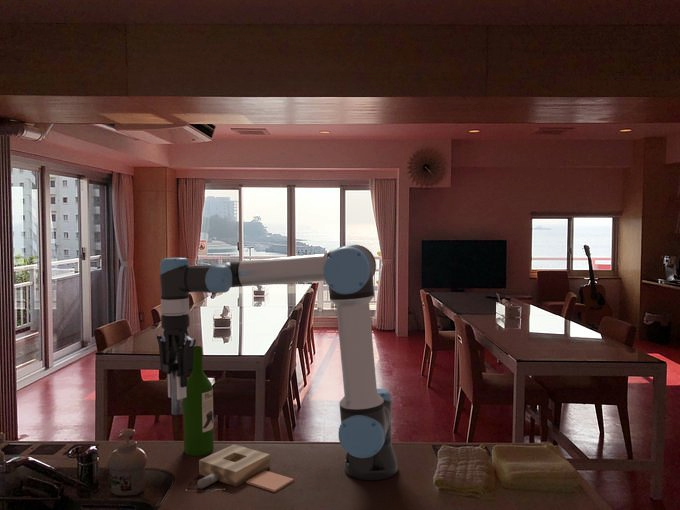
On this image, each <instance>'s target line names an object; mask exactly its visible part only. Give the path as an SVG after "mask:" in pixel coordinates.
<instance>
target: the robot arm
mask: <svg viewBox="0 0 680 510" xmlns="http://www.w3.org/2000/svg"><path fill="white" fill-rule="evenodd" d="M159 265H160V266H159V267H160V268H159V277H160V278H159V279H160V313H161V314H162V315H161V317H160V320H161V323H160V324H161V328H162V329H163V331H162V332H163V333H162V334H159V335H156V339H157V342H158V352H159V363H160V370H161V371H163V367H162V364H165V363H169V362H173V361H176V360H177V365H178V373H179V374H177V399H178V400H180V399H183V398H186V386H187V380H188V375H191V373H192V372H193V357H194V346H195V345H196V341H197V340H196V338H195V337H194V338H191V337H190V336H189V332H188V328H189V327H190V326H191V325H190V322H191V321H190V314H189V311H190V298H189V297H190V293H207V294H208V293H209V294H223V293H227V292H229V291H230V289H231V288H240V287H250V286H251V287H252V286H267V285H279V284H280V285H282V284H296V283H308V282H309V283H313V282H322V281H323V282H324V281H325V282H326V284H327V286H328V293H329V300H330V301H331V303H332V304H334V305H335V306H336V316H337V327H338V329H337V330H338V338H339V350H340V361H341V372H342V383H343V395H344V396H343V397H342V398H341V400H340V401H339V405H338V406H339V413H340V414H339V415H340V417H339V418H340V425H339V427H338V440H339V444H340V447H342V449H343V450H344V451H345V452H346V455H345V458H344V471H345V473H346V474H347V475H348V476H350V477H352V478H354V479H357V480H363V481H381V480H386V479H389V478H392V477H393V476H395V475H396V474H397V472H398V460H397V456H396V454H395V451H394V447H393V445H392V403H393V400H392V394H391V391H388V390H386V389H384V388H383V389H382V388H377V387H378V386H377V377H376V366H375V364H376V363H375V353H374V345H373V344H374V342H373V333H372V331H373V330H372V319H371V308H370V303H371V301H372V300H373V298H374V297H375V286H374V276H375V274H376V269H377V262H376V258H375V256H374V255H373V252H372V251H371V250H369V249H368V247H365V246H363V245H360V244H349V245H343V246H339V247H337V248H336V249H335V248H334V249H328V250H326V251H325V253H319V254H308V255H297V256H295V255H294V256H284V257H282V256H281V257H273V258H272V257H271V258H261V259H249V260H239V261H238V260H236V261H235V260H234V261H232V260H230V261H229V260H228V261H224V262H220V263H212V264H201V265H199V264H198V265H193V264H192V265H191V264H190V263H189V259H188V258H187V257H165V258H163V259H161V260H160V263H159ZM164 373H165V374H166V384H167V397H168V398H172V395H171V372H169V373H168V372H164Z"/></svg>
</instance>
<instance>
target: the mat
mask: <svg viewBox="0 0 680 510" xmlns="http://www.w3.org/2000/svg"><path fill="white" fill-rule="evenodd" d="M293 482H294V478H291V477H290V476H285V475H282V474H278V473H275V472H272V471H270V470H269V471H268V470H265V471H263V472H261V473H260V474H258V475H256V476H254V477H252V478H250V479H249V480H247V481H245V483H246V484H248V485H250V486H254V487H257V488H260V489H264V490H266V491H268V492H272V493H277V492H278V491H280V490H281V489H283V488H285V487H286V486H288V485H289V484H291V483H293Z"/></svg>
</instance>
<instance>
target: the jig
mask: <svg viewBox="0 0 680 510" xmlns="http://www.w3.org/2000/svg"><path fill="white" fill-rule="evenodd" d="M270 457H271V455H270V453H266V452H263V451H259V450H255V449H252V448H250V447H249V448H248V447H245V446H242V445H237V444H231V445H229V446H227V447H225V448H223V449H220V450H219V451H215V452H214V453H212V454H210V455H208V456H206V457H203V458H201V459H199V460H198V474H199V475H200V476H204V477H202V478H200V479H198V480H197V486H198V487H197V488H199V489H201V490H202V489H205V488H206V487H209V486H210V485H213V484H214V483H217V482H218V481H219V482H222V483H224V484H227V485H230V486H233V487H238V486H240V485H241V484H243V483H246V481H247V480H249V479H251V478H253V477H255V476H256V475H258V474H260V473H262V472H264V471H265V470H266V471H268V470H269V469H270V468H271V467H270V466H271V463H270V462H271V461H270V460H271V458H270ZM268 468H269V469H268Z"/></svg>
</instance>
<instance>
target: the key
mask: <svg viewBox="0 0 680 510" xmlns="http://www.w3.org/2000/svg"><path fill="white" fill-rule="evenodd" d="M162 367H163V370H162V373H163V372H164V373H165V372H168V373H169V372H171V395H172V397H171V415H174V416H179V415H182V414H183V399H180V400H178V399H177V374H179V373H178V365H177V359H176V361H173V362H169V363H165V364H162Z"/></svg>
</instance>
